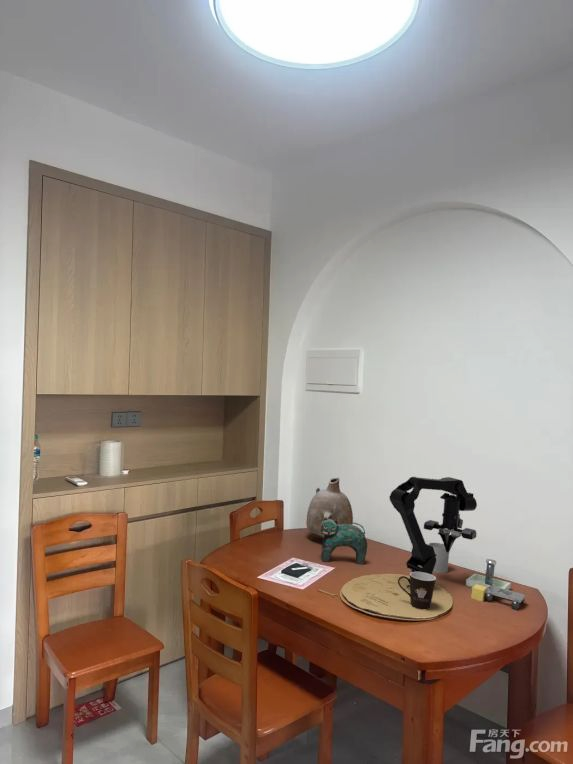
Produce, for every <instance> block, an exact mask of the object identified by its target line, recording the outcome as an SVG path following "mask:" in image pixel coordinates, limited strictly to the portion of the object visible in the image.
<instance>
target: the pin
mask: <svg viewBox="0 0 573 764" xmlns="http://www.w3.org/2000/svg"><path fill="white" fill-rule="evenodd" d="M485 562H486V569H485V575H484V576H485V584H487V585H492V584H493V578H494V574H495V567H496V565H497V561H496V560H494V559H490V558H486V561H485Z"/></svg>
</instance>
